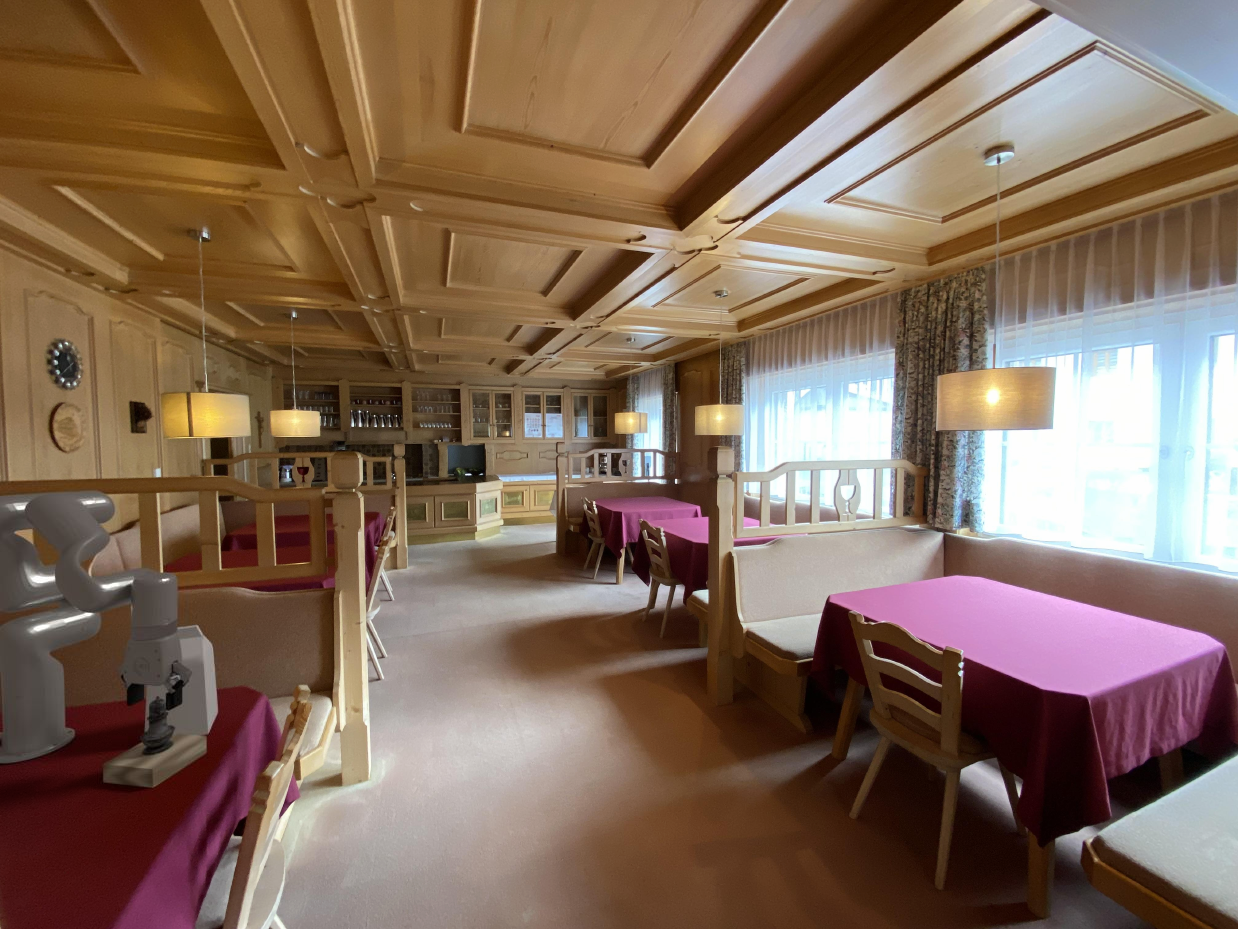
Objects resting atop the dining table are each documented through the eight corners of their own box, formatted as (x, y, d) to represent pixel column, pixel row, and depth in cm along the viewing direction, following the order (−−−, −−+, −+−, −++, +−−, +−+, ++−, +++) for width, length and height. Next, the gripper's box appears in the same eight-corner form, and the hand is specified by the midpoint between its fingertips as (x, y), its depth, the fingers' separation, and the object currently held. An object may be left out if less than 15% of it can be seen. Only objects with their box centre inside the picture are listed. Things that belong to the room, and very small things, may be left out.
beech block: (103, 782, 106) (103, 764, 106) (161, 748, 118) (161, 731, 118) (153, 787, 105) (152, 769, 105) (206, 753, 117) (206, 736, 117)
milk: (143, 747, 118) (142, 639, 117) (159, 723, 128) (157, 624, 127) (208, 733, 124) (207, 631, 123) (218, 711, 134) (217, 617, 133)
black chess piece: (135, 759, 108) (134, 704, 107) (146, 744, 113) (145, 692, 113) (170, 752, 110) (170, 699, 110) (179, 737, 116) (178, 687, 115)
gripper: (101, 633, 108) (101, 710, 108) (172, 639, 106) (172, 718, 106) (138, 620, 115) (138, 693, 116) (205, 627, 113) (205, 700, 114)
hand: (154, 705), depth 111 cm, fingers open, 9 cm apart
